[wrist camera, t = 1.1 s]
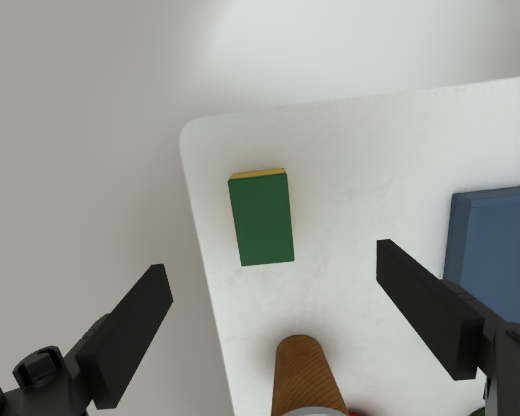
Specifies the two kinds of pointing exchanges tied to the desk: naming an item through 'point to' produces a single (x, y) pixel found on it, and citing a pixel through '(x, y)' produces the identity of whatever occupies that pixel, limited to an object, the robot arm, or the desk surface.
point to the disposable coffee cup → (304, 381)
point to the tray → (487, 248)
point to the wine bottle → (479, 412)
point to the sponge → (262, 216)
